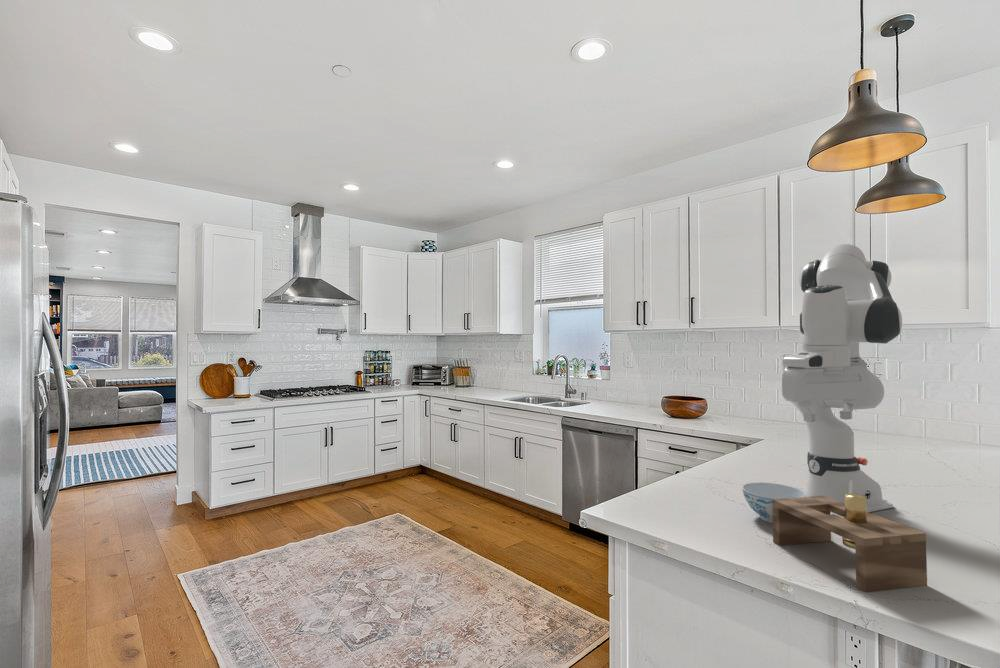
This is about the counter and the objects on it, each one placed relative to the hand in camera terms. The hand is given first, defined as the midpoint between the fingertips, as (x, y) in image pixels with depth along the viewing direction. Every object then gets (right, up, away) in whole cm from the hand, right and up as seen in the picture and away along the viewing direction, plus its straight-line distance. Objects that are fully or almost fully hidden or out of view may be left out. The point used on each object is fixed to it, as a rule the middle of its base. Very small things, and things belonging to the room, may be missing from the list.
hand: (828, 420), depth 108 cm
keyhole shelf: (+1, -30, -3) cm, 30 cm away
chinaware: (0, -31, +22) cm, 38 cm away
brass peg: (+2, -25, -7) cm, 26 cm away
